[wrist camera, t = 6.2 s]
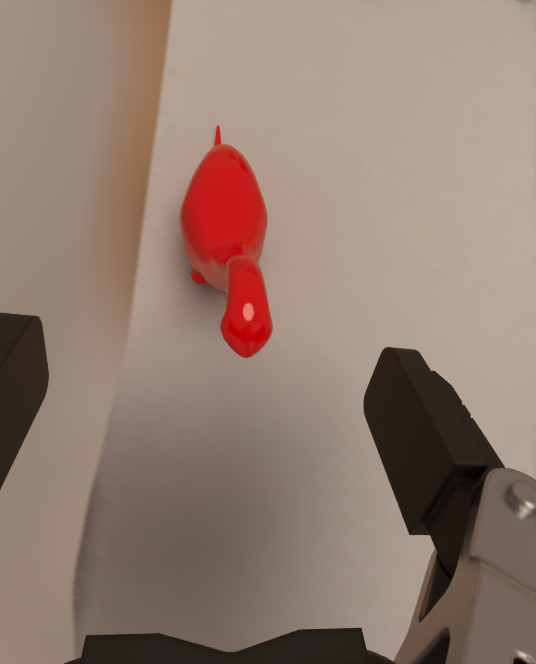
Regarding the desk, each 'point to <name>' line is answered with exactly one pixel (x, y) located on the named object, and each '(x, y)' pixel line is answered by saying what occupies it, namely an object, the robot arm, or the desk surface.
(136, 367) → the desk surface
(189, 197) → the dinosaur
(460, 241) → the desk surface
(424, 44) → the desk surface
